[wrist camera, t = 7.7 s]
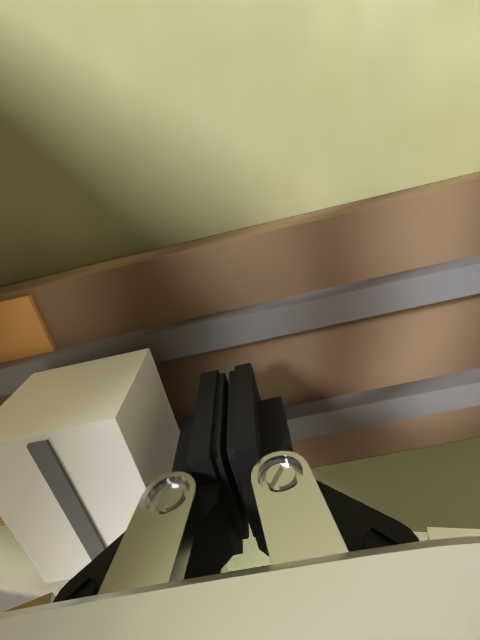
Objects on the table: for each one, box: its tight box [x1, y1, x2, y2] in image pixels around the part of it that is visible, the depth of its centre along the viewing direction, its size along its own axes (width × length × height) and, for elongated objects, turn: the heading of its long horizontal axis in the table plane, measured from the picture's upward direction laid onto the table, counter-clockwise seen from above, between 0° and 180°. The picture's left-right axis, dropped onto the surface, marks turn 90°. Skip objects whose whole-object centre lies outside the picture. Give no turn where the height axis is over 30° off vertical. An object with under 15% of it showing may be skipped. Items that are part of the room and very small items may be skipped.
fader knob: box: [0, 348, 180, 583], centre depth 12 cm, size 4×5×5 cm
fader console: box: [0, 172, 480, 526], centre depth 14 cm, size 28×10×3 cm, turn 103°
